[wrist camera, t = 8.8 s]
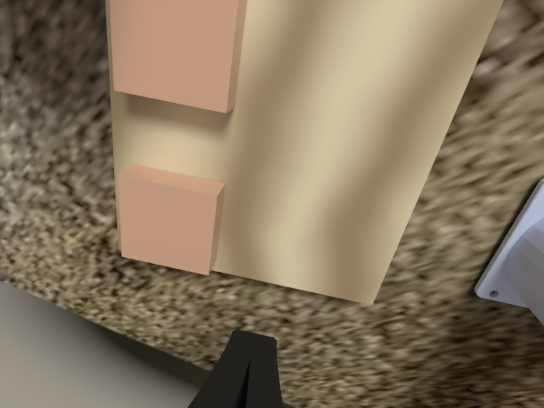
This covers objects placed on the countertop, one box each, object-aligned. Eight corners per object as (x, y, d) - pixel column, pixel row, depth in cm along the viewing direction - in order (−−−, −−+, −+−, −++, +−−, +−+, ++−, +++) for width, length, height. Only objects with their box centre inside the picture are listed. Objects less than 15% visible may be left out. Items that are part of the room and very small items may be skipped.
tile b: (217, 195, 16) (117, 174, 16) (208, 275, 18) (122, 256, 18) (225, 183, 17) (134, 163, 17) (216, 258, 19) (136, 240, 19)
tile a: (241, -27, 11) (107, -53, 12) (226, 113, 14) (114, 90, 14) (249, -18, 13) (130, -42, 13) (234, 106, 15) (133, 86, 15)
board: (483, 4, 14) (503, -1, 12) (367, 287, 21) (372, 305, 19) (122, -66, 14) (100, -78, 13) (131, 236, 21) (118, 249, 20)
